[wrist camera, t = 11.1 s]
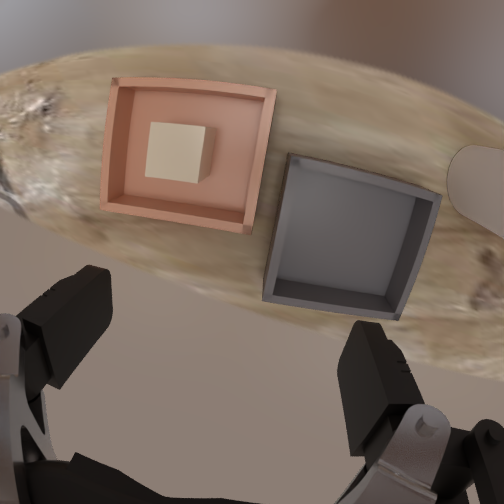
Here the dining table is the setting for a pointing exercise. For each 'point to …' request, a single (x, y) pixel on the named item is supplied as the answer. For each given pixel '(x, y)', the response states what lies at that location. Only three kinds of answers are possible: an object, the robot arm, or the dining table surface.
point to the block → (179, 152)
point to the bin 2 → (347, 239)
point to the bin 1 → (223, 159)
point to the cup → (478, 186)
